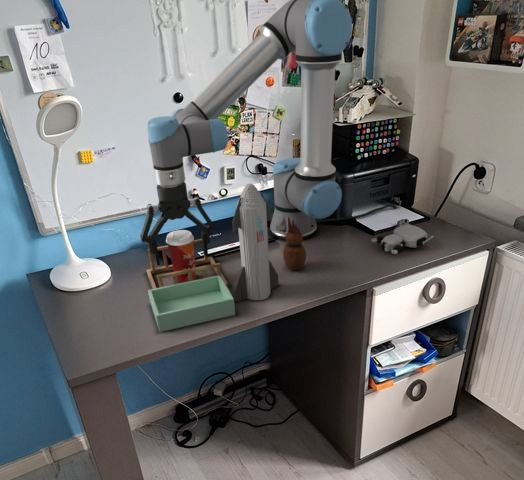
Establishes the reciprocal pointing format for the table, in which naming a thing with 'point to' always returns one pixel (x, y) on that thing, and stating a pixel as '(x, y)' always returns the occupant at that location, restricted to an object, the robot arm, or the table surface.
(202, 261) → the drying rack
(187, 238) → the paper cup
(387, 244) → the robot toy
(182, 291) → the green rectangular tray
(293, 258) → the wooden figurine
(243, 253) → the rocket model
